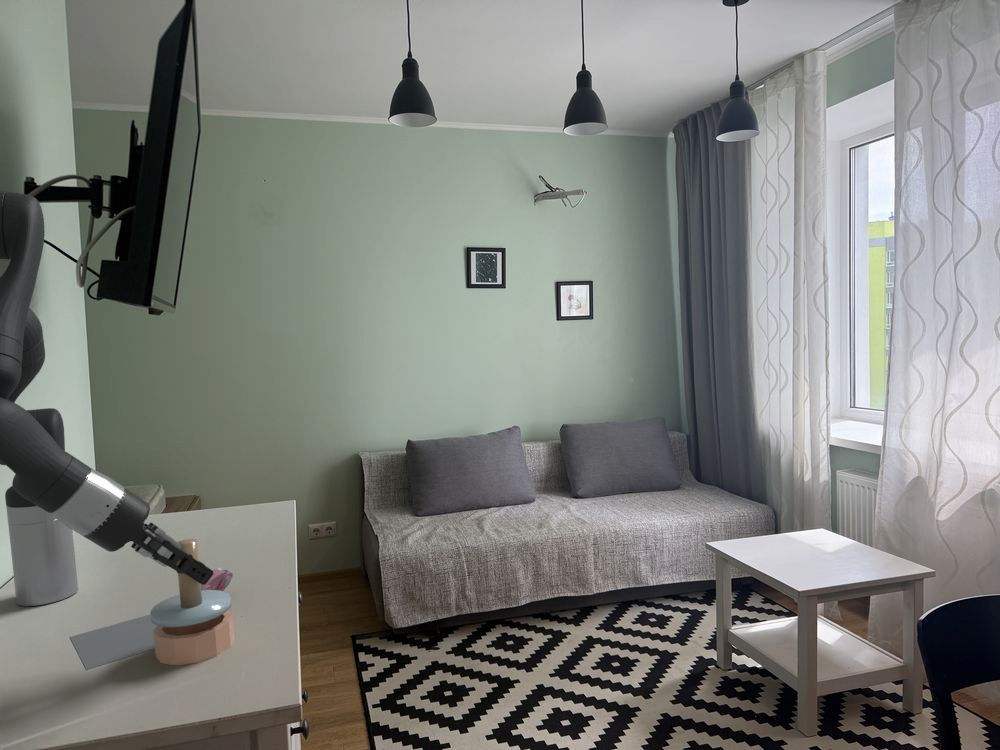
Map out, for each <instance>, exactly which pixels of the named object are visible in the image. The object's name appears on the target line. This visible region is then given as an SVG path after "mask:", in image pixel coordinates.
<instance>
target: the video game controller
mask: <svg viewBox="0 0 1000 750" xmlns="http://www.w3.org/2000/svg"><path fill="white" fill-rule="evenodd" d="M211 570H212V571H213V576H212V577H211V578H210V579H209V581H208V582H207V583H206V584H205V585H202V584H201V591H202V590H218V591H224V592H225V590H226V589H227V587H228V586H229V585H230V583H231V581H232V579H233V576H234V574H233V573H234V572H231V571H229V570H228V569H225V568H223V569H222V568H221V567H218V568H217V569H211Z"/></svg>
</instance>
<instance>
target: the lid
mask: <svg viewBox="0 0 1000 750" xmlns="http://www.w3.org/2000/svg"><path fill="white" fill-rule="evenodd" d="M177 542H178V543H179V544H181V546H182V548H181V549H182V550H183V551H184V552H186V553H187V554H189V555H190V554H191V555H193V557H194V559H195V560H197V561H200V559H199V557H200V556H199V549H198V548H199V547H198V540H197V539H196V538H188V539H187V538H186V539H181V540H179V541H177ZM183 558H184V556H183V557H181V558H180V560H179V561H178V562H177V566H178V564H179V563H180V562H181V560H182V559H183ZM177 579H178V591H179V593H178V594H177V595H174V596H171V597H169V598H166V599H164V600H162V601H161V602H159V603H157V604H155V605H154V606H153V607H152V608H151V610H150V614H151V621H152V623H153V624H155V625H158V626H162V627H182V626H189V625H194V624H198V623H202V622H205V621H208V620H211V619H214V618H216V617H218V616H220V615H222V614H223V613H225V612H226V611H227V610H228V611H229V610H230V609H231V607H232V597H231V594H229V593H228V592H227V591H225V590H224V591H218V590H202V591H201V584H200V583H199V582H197V581H196V580H194V579H192V578H191V577H189V576H188V575H186V574H184V573H183V574H181V573H180V574H179V573H177Z"/></svg>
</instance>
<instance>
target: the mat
mask: <svg viewBox="0 0 1000 750" xmlns="http://www.w3.org/2000/svg"><path fill="white" fill-rule="evenodd" d="M156 627H157V625H155V624H153V623H152V621H151V613H149V614H147V615H143V616H140V617H135V618H133V619H128V620H126V621H122V622H118V623H115V624H111V625H108V626H104V627H100V628H97V629H92V630H90V631H86V632H83V633H79V634H75V635H72V636H71V635H70V636H69V638H70V641H71V643H72V644H73V646H74V648H75V650H76V652H77V654H78V657H79V658H80V660H81V662H82V664H83V665H84V667H85V670H86V671H89V670H91V669H95V668H97V667H101V666H104V665H107V664H112V663H114V662H117V661H120V660H123V659H126V658H130V657H133V656H135V655H136V656H137V655H139V654H143V653H146V652H149V651H152V650H155V644H154V633H153V631H154V629H155V628H156Z"/></svg>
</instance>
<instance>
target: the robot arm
mask: <svg viewBox="0 0 1000 750" xmlns="http://www.w3.org/2000/svg"><path fill="white" fill-rule="evenodd" d="M44 244H45V218H44V214H43V209H42V207H41V204H40V202H39V200H38V199H37V198H36V197H34V196H32V195H30V194H26V193H20V192H11V191H2V190H0V260H10V261H9V264H8V266H7V267H6V269H5V271H4V272H3V273H2V275H1V276H0V465H1V466H7V468H8V469H10V470H11V472H13V473H14V474H15V475H14V477H13V479H12V485H11V486H10V487H9V488H7V490H6V491H5V493H4V494H5V495H4V496H5V497H4V499H5V506H6V508H5V509H6V517H7V524H8V533H9V543H10V552H11V553H10V554H11V563H12V572H13V582H14V591H15V601H16V604H17V606H22V607H23V606H24V607H31V606H32V607H34V606H42V605H46V604H51V603H55V602H58V601H61V600H65V599H66V598H69V597H71V596H73V595H75V594H76V593H77V592H78V591H79V584H78V573H77V564H76V563H77V562H76V554H75V553H76V552H75V543H74V534H73V533H74V532H76V534H79V535H80V536H82V537H84V538H85V539H87V540H89V541H91V542H92V543H93V544H95V545H97V546H99V547H100V548H102V549H104V550H105V551H107V552H110V553H111V552H115V551H116V552H117V551H119V550H120V549H122V548H124V546H125V545H126V544H128V543H130V542H132V544H131V545H130V547H131V548H132V549H133V550H134V552H136V553H138V554H139V555H141V556H143V557H144V558H150V559H151V560H152V561H153V562H156V563H158V564H159V565H160V566H162V567H168V568H170V569H173V570H174V571H175V572H176V573H177V574H178V573H179V574H180V573H181V574H183V573H184V574H186V575H188V576H189V577H191V578H192V579H194V580H196V581H197V582H199V583H200V584H202V585H205V584H206V583H207V582H208V581H209V579H210V578H211V577H212V576H213V571H212V570H213V569H211V568H210V567H208V566H206V564H204V563H203V562H201V561H200V560H199V561H197V560H195V559H194V557H193V555H191V554H190V555H189V554H187V553H186V552H184V551H183V550H182V549H181V548H182V546H181V544H179V543H178V542H179V541H176V540H175V539H174V538H173V537H172V536H169V535H168V534H167V533H166V531H165V530H163V529H162V528H160V527H159V526H158V525H156V524H155V523H153V522H151V521H150V522H149V523H148V524H147V523H145V521H146V520H147V519H148V517H149V515H150V512H151V506H150V504H149V503H148V502H147V501H146V500H144V499H143V498H141V497H140V496H137V494H135V493H133V492H132V491H130V490H129V489H127V488H126V487H124V486H123V485H122V484H120V483H118V482H116V481H115V480H114V479H113V478H111V477H110V476H108V475H105V474H104V473H102V472H100V471H97V470H95V469H94V468H92V467H90V466H89V465H87V464H86V463H84V462H83V461H81V460H80V459H78V458H76V456H74V455H72V454H70V453H69V452H67V451H66V447H65V446H66V442H65V440H66V439H65V426H64V420H63V416H62V414H61V413H60V411H59V410H58V409H56V408H53V407H51V408H50V407H49V408H37V409H27V410H26V409H25V408H24V407H22V405H21V406H20V405H19V404H17V403H15V402H16V401H17V399H18V398H19V397H20V395H21V394H22V393H23V392H24V391H25V389H27V388H28V387H29V385H30V384H31V383H32V382H33V380H34V379H35V378H36V377H37V375H38V374H39V373H40V371H41V369H42V368H43V365H44V364H45V361H46V349H45V341H44V340H45V339H44V332H43V326H42V323H41V321H40V319H39V318H38V316H37V315H36V314H35V312H34V311H33V310H32V309H31V308H30V306H31V302H32V298H33V294H34V290H35V286H36V282H37V278H38V272H39V270H40V269H39V268H40V265H41V261H42V260H41V259H42V256H43V251H44ZM73 531H74V532H73ZM183 556H184V558H183V559H182V560H181V562H180V563H179V564H178V566H177V562H178V561H179V560H180V558H181V557H183Z"/></svg>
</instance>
